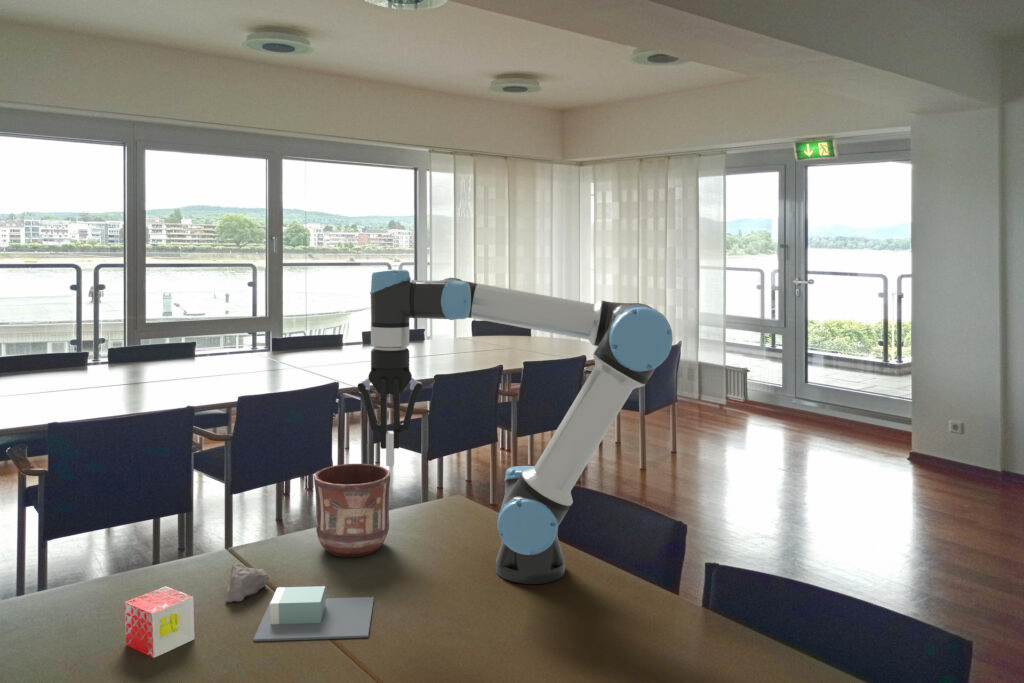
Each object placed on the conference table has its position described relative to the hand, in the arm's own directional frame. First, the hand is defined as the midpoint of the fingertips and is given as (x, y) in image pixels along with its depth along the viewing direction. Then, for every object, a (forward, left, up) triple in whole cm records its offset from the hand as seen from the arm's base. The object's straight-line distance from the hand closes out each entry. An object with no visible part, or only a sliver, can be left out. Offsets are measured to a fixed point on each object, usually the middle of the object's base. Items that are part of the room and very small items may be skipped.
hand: (390, 464), depth 159 cm
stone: (+29, -1, -27) cm, 40 cm away
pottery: (+10, -24, -27) cm, 37 cm away
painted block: (+12, +11, -24) cm, 29 cm away
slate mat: (+13, +12, -26) cm, 32 cm away
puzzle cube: (+39, +19, -27) cm, 51 cm away
